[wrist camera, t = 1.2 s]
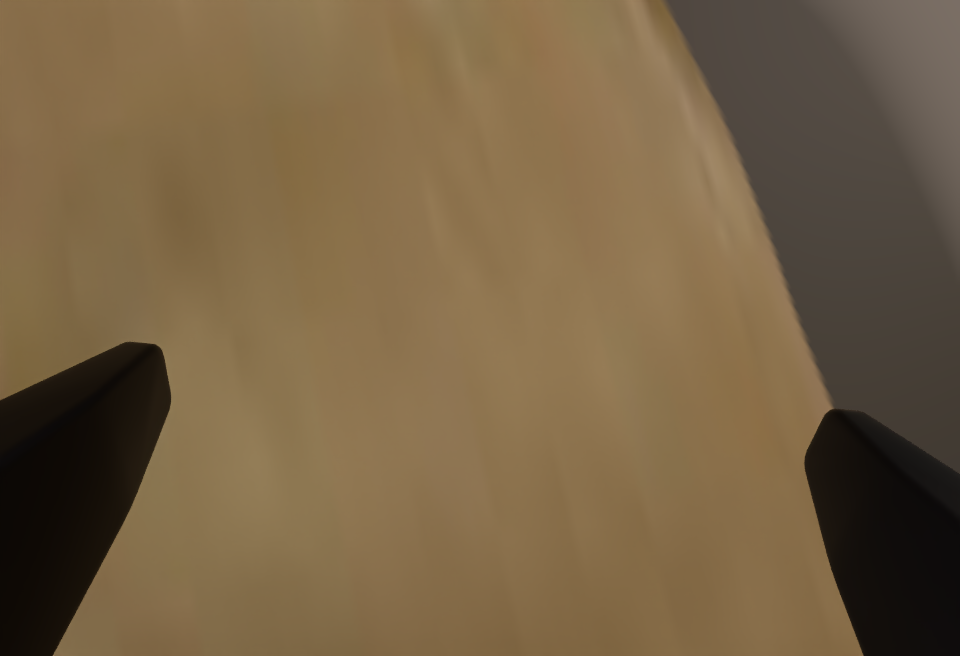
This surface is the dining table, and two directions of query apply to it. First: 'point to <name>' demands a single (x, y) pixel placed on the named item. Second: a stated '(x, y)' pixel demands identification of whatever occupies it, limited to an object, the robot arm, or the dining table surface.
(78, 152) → the dining table surface
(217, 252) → the dining table surface
